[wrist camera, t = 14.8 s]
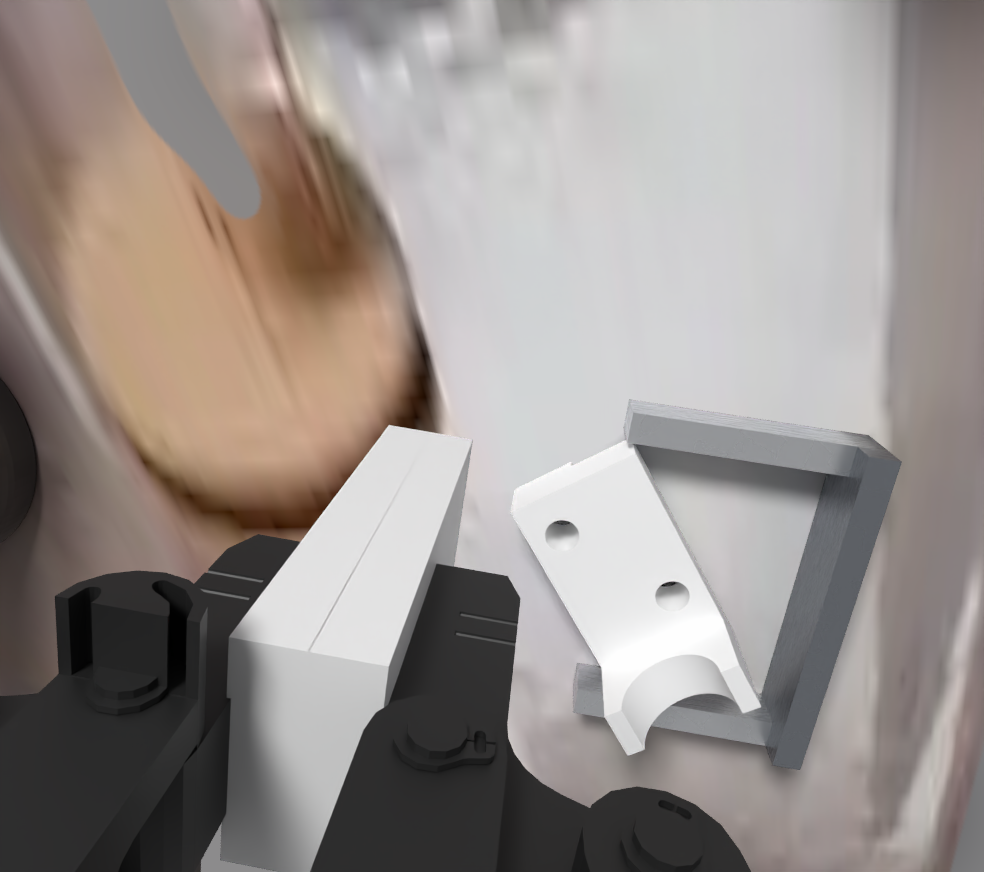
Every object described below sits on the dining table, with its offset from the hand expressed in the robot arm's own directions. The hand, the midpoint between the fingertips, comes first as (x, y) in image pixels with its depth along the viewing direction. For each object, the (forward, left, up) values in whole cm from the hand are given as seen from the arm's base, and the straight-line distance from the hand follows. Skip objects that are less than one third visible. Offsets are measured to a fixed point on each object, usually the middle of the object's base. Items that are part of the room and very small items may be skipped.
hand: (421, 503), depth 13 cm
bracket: (+8, -13, -27) cm, 31 cm away
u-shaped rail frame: (+13, -13, -26) cm, 32 cm away
